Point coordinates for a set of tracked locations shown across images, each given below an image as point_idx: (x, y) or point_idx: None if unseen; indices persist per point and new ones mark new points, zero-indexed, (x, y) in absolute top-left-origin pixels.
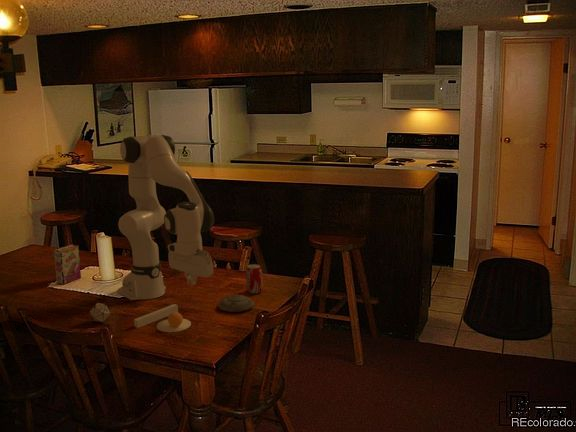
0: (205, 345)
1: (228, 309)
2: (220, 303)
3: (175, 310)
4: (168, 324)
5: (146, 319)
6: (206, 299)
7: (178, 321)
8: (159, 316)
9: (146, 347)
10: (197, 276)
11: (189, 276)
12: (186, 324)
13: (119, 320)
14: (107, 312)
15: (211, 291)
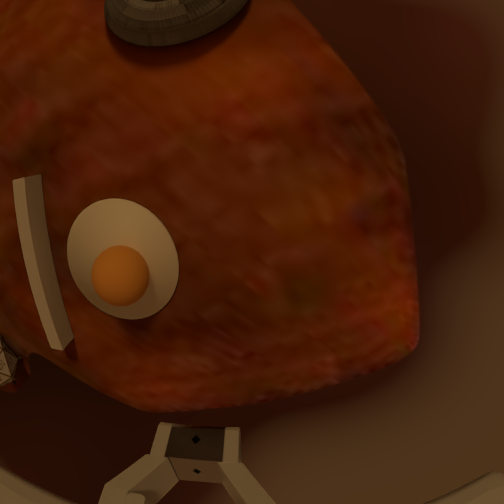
0: (342, 305)
1: (192, 33)
2: (127, 29)
3: (36, 187)
4: None
5: (56, 316)
6: (43, 39)
7: (147, 284)
8: (46, 261)
9: (204, 400)
10: (266, 494)
11: (156, 482)
12: (147, 232)
13: (15, 325)
14: (3, 362)
15: (26, 5)
